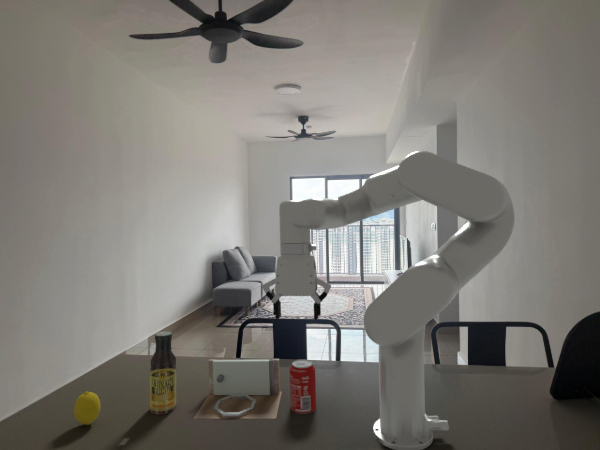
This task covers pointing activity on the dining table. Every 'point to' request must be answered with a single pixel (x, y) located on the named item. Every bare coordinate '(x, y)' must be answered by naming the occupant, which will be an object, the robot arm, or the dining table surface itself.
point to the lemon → (87, 408)
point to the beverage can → (302, 386)
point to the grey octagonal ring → (234, 414)
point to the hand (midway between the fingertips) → (297, 318)
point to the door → (243, 377)
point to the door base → (242, 401)
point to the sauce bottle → (163, 375)
